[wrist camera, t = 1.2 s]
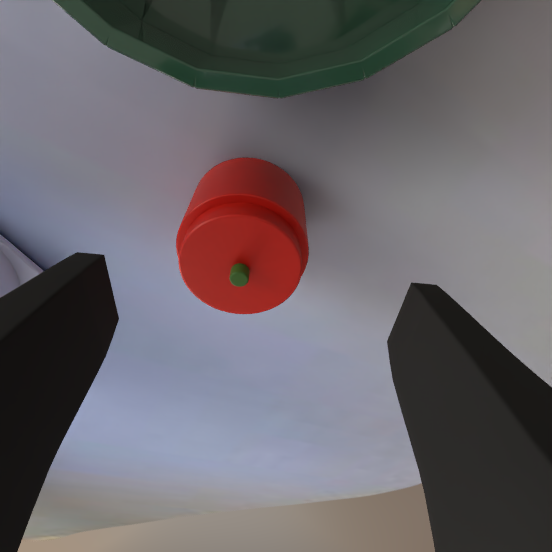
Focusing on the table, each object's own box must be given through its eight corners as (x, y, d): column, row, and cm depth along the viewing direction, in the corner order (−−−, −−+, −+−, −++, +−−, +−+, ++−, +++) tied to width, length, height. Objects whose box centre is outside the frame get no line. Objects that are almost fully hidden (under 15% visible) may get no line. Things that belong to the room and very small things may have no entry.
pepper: (234, 262, 20) (220, 346, 15) (174, 184, 17) (134, 257, 13) (321, 221, 19) (335, 301, 14) (269, 128, 16) (264, 187, 11)
